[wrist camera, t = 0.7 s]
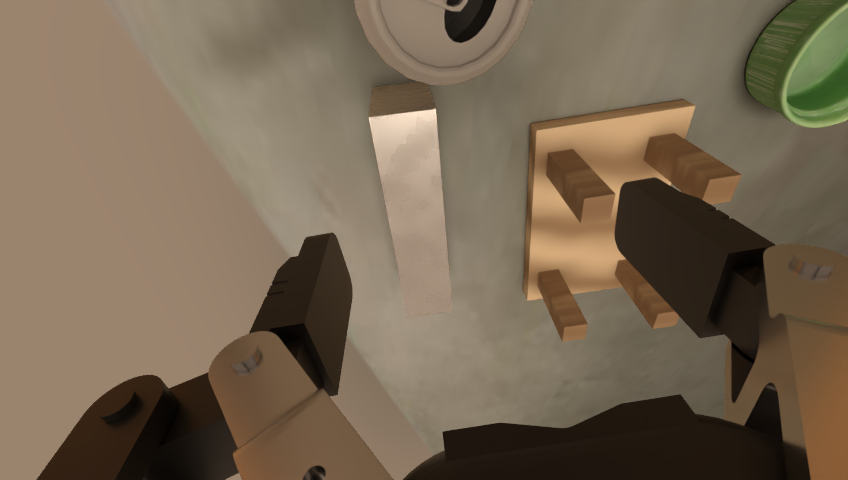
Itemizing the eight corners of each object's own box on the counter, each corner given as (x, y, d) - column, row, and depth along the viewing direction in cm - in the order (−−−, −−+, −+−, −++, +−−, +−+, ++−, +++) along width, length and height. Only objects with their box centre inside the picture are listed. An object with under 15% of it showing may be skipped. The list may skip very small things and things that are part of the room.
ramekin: (867, 64, 28) (933, 79, 25) (740, 129, 31) (784, 151, 28) (880, -61, 24) (964, -64, 20) (729, 29, 26) (780, 40, 23)
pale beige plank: (372, 86, 27) (368, 117, 22) (427, 79, 27) (435, 109, 22) (405, 268, 38) (407, 317, 33) (443, 263, 38) (452, 311, 33)
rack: (530, 123, 29) (572, 173, 23) (683, 99, 29) (771, 142, 22) (523, 290, 41) (549, 356, 34) (632, 274, 41) (680, 338, 34)
